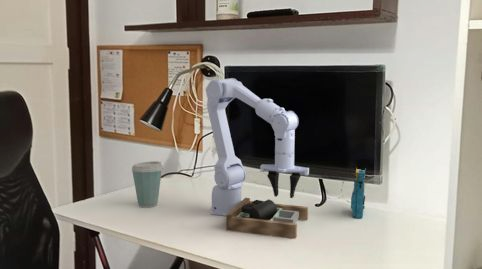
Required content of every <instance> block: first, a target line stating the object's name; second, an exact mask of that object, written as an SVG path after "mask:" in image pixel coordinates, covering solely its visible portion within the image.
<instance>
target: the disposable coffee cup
mask: <svg viewBox="0 0 482 269" xmlns="http://www.w3.org/2000/svg"><path fill="white" fill-rule="evenodd" d="M163 168H164V167H163V164H162V161H158V160H157V161H156V160H155V161H154V160H153V161H151V160H150V161H142V162H137V163H134V165H132V167H131V172H132V177H133V183H134V188H135V195H136V200H137V204H138V206H139V207H140V208H153V207H155V206H157V205H158V203H159V202H158V201H159V196H160V194H159V193H160V187H161V180H162V179H161V178H162V170H163Z"/></svg>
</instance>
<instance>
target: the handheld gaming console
mask: <svg viewBox="0 0 482 269" xmlns="http://www.w3.org/2000/svg"><path fill="white" fill-rule="evenodd" d="M355 176H356V178H355V177H354V182H353V191H352V194H351V198H350V209H351V214H352V218H355V219H358V220H362V218H364V210H365V208H366V205H365V202H366V195H365V186H366V185H365V183H366V182H365V183H364V178H365V179H366V169H365V170H361V169H357V168H356V170H355Z"/></svg>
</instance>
